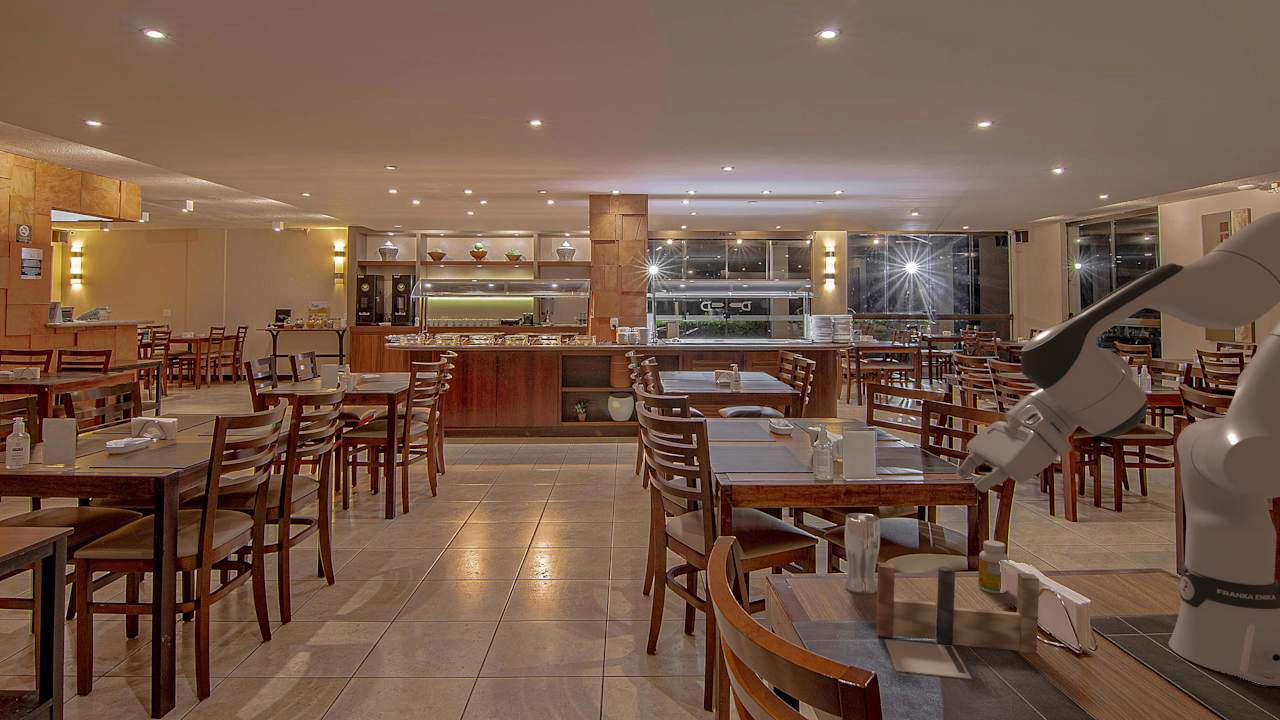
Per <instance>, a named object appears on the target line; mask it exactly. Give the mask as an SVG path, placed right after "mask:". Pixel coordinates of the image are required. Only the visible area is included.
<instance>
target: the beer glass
mask: <svg viewBox="0 0 1280 720" xmlns="http://www.w3.org/2000/svg"><path fill="white" fill-rule="evenodd" d="M880 524H881V523H880V518H879V517H878V516H877V515H874V514H870V513H861V512H854V513H847V514H846V515H845V525H844V548H845V555H846V563H847V577H846V581H845V589H846V588H847V589H848V591H849V592H851V593H854V594H859V595H873V594H875V593H877V582H876V566H877V563H878V562H877V561H878V557H879V551H880V545H881V527H880V526H881V525H880ZM847 589H846V590H847Z"/></svg>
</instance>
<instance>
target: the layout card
mask: <svg viewBox="0 0 1280 720" xmlns="http://www.w3.org/2000/svg"><path fill="white" fill-rule="evenodd" d="M884 642H885V645H886V648H887V650H889V651H888V653H890V654H889V656H890V655H891V656H890V658H892V659H891V661H893V662H892V664H893V663H894V664H893V666H895V667H894V669H897V671H898V669H899V671H904V672H903V673H905V672H910V673H909V674H915V673H916V674H917V675H923V676H924V675H925V676H926V675H928V676H936V677H945V678H955V679H965V680H973V677H972V676H971V673H969V670H968V669H967V667H966V665H965V663H964V662H963V660H962V658H961V657H960V655H959V653H958V651H957V650H956V648H955V647H954V645H950V646H949V645H941V644H939V643H937V644H936V643H927V642H926V643H925V642H917V641H916V642H915V641H904V640H895V639H885V638H884ZM899 667H900V668H899Z"/></svg>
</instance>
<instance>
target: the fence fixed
mask: <svg viewBox="0 0 1280 720" xmlns="http://www.w3.org/2000/svg"><path fill="white" fill-rule="evenodd" d="M937 572H938V573H937V602H936V639H935V641H936V643H937V644H939V645H949V646H954V645H955V646H964V647H977V648H988V649H997V650H1005V651H1007V650H1008V651H1017V652H1020V653H1021V654H1023V653H1024V654H1031V655H1036V654H1038V653H1037V652H1038V650H1037V649H1038V625H1039V598H1040V597H1039V596H1040V594H1039V593H1040V578H1039V577H1038V576H1037V575H1036V574H1035V573H1028V572H1027V573H1024V572H1017V595H1016V596H1017V597H1016V599H1017V600H1016V612H1014V611H1004V610H993V609H992V610H991V609H979V608H969V607H957V606H955V588H956V587H955V586H956V585H955V584H956V569H954V568H951V567H945V566H940V567H938V569H937Z"/></svg>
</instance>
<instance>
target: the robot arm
mask: <svg viewBox="0 0 1280 720" xmlns="http://www.w3.org/2000/svg"><path fill="white" fill-rule="evenodd" d="M1278 304H1280V211H1279V212H1278V211H1277V212H1271V213H1269V214H1265V215H1263V216H1261V217H1258V218H1257V219H1255V220H1253V221H1251V222H1250V223H1248V224H1247V225H1245V226H1243V227H1242V228H1240V229H1239V230H1236V231H1235V232H1234V233H1232V234H1231V235H1230V236H1228V237H1227V238H1226V239H1224V240H1223V241H1222V242H1220V243H1218V245H1216V246H1215V247H1214V248H1213V249H1211V250H1210V251H1209V252H1208V253H1206V254H1205V255H1204V256H1203V257H1202V258H1200V259H1198V260H1196V261H1195V262H1193V263H1190V264H1187V265H1180V264H1175V263H1167V264H1164V265H1160V266H1158V267H1155V268H1153V269H1150V270H1148V271H1145V272H1144V273H1142V274H1140V275H1138V276H1137V277H1135V278H1133V279H1131V280H1129V281H1128V282H1126V283H1124V284H1122V285H1121V286H1119V287H1118V288H1116V289H1115V290H1113V291H1111V292H1109V293H1107V294H1106V295H1104V296H1103V297H1101V298H1100V299H1098V300H1096V301H1095V302H1093V303H1092V304H1089V305H1088V306H1087V307H1085V308H1083V309H1081V310H1080V311H1078V312H1076V313H1075V314H1073V315H1072V316H1070V317H1068V318H1066V319H1065V320H1063V321H1061V322H1059V323H1057V324H1056V325H1054V326H1052V327H1049V328H1046V329H1045V330H1043V331H1040V332H1038V334H1036V335H1034V336H1033V337H1032V338H1030V340H1028V341H1027V343H1026V344H1024V346H1023V347H1022V348H1021V351H1020V367H1021V368H1020V369H1021V373H1022V375H1023V376H1024V377H1026V378H1027V379H1028V380H1029V381H1030V382H1032V383H1033V384H1034V385H1036V386H1037V387H1038V389H1036V390H1034V391H1032V392H1029V393H1028V394H1027V395H1026V396H1025V397H1023V398H1022V399H1021V400H1019V402H1017V403H1016V404H1015V405H1014V406H1012V407H1011V408H1010V409H1009V410H1008V411H1006V412H1005V414H1004V416H1005V419H1006V421H1002V420H998V421H995V422H993V423H992V424H990V425H988V426H986V428H984V429H983V430H982V431H980V432H979V433H977V434H976V435H975V436H974V437H973V438H971V439H970V440H969V441H968V443H967V444H966V446H965V447H966V449H967V450H968V451H969V452H970V453H969V454H968V455H967V457H966V458H965V459H964V461H963V463H962V464H961V465H960V466H958V468H957V469H956V470H955V473H956V474H957V475H958V476H959V478H961V479H963V480H966V479H968V478H969V477H970V476H971V475H973V473H972V472H973V471H974V470H975V469H976V468H977V467H980V466H981V465H982V464H985V465H987V466H988V467H991V468H992V469H991V471H989V473H987V474H985V475H983V476H979V478H977V480H975V481H974V482H973V485H974V487H976V489H977V490H978V491H980V492H981V493H986V492H987V491H989V490H990V489H991V488H992V487H995V486H998V485H999V484H1002V483H1004V482H1006V481H1007V480H1008V479H1009V478H1010V479H1011V480H1014V481H1015V482H1017V483H1018V484H1021V483H1023V482H1027V481H1029V480H1031V479H1033V478H1034V477H1036V476H1037V475H1038V474H1040V473H1041V472H1042V471H1043V470H1045V469H1046V468H1048V467H1049V466H1050V465H1051V464H1052V463H1054V462H1055V460H1056V459H1057V458H1058V456H1059V457H1065V456H1066V455H1068V454H1069V453H1070V452H1071V451H1072V450H1073V446H1072V444H1071V443H1070V441H1069V439H1068V438H1070V436H1072V435H1073V433H1074V432H1075V431H1076V430H1077V428H1078V427H1081V428H1082V429H1083V430H1085V431H1086V432H1088V433H1090V434H1091V435H1093V436H1097V437H1103V438H1118V437H1121V436H1123V435H1125V434H1127V433H1128V432H1129V431H1131V430H1132V429H1133V428H1135V427H1136V426H1137V425H1138V424H1140V423H1141V422H1142V420H1143V419H1145V416H1146V413H1147V411H1148V406H1149V399H1148V398H1149V396H1148V395H1146V393H1145V392H1144V390H1143V389H1142V387H1141V386H1139V384H1138V383H1136V381H1134V380H1133V379H1134V372H1133V369H1132V368H1131V366H1130V364H1129V363H1128V362H1127V361H1126V360H1125V359H1124V358H1123V357H1122V356H1120V355H1119V354H1117V353H1115V352H1114V351H1112V350H1109V349H1106V348H1103V347H1099V346H1098V343H1097V339H1098V337H1099V335H1102V334H1103V333H1105V332H1106V331H1108V330H1110V329H1111V328H1113V327H1115V326H1117V325H1118V324H1119V323H1121V322H1124V321H1125V320H1127V319H1128V318H1130V317H1131V316H1133V315H1134V314H1136V313H1138V312H1140V311H1141V310H1143V309H1150V310H1155V311H1157V312H1161V313H1163V314H1166V315H1169V316H1171V317H1173V318H1175V319H1177V320H1180V321H1182V322H1184V323H1188V324H1190V325H1192V326H1193V325H1194V326H1196V327H1202V328H1206V329H1211V330H1233V329H1239V328H1242V327H1245V326H1248V325H1250V324H1253V322H1255V321H1257V320H1259V319H1261V318H1262V317H1263V316H1265V315H1266V314H1268V312H1270V311H1271V310H1272V309H1274V308H1275V307H1276V306H1277V305H1278ZM1236 383H1237V386H1236V390H1235V392H1234V395H1233V397H1232V400H1231V402H1230V405H1229V407H1228V409H1227V412H1226V413H1225V416H1224V417H1210V418H1206V419H1201V420H1198V421H1195V422H1194V421H1193V423H1191V424H1189V425H1187V426H1185V427H1184V429H1182V430H1181V432H1180V433H1179V435H1178V437H1177V440H1176V449H1177V454H1178V458H1179V466H1180V479H1181V488H1182V495H1183V501H1184V502H1183V503H1184V509H1185V518H1186V519H1185V522H1186V523H1185V528H1186V529H1185V548H1184V549H1185V551H1184V563H1182V564H1181V570H1180V580H1179V581H1180V583H1179V593H1180V595H1179V596H1180V598H1181V601H1180V606H1179V612H1178V616H1177V619H1176V623H1175V627H1174V630H1173V632H1172V635H1171V637H1170V638H1169V641H1168V646H1169V647H1170V649H1171V650H1173V652H1174V653H1176V654H1177V655H1179V656H1181V657H1182V658H1184V659H1186V660H1188V661H1190V662H1191V663H1194V664H1197V665H1199V666H1201V667H1204V668H1208V669H1210V670H1214V671H1216V672H1219V671H1220V673H1223V674H1226V673H1227V675H1229V676H1233V675H1234V677H1236V676H1238V677H1237V678H1239V677H1240V678H1239V679H1241V678H1243V679H1242V680H1244V679H1245V680H1244V681H1246V680H1248V681H1247V682H1249V681H1251V682H1254V683H1257V684H1261V685H1276V686H1280V582H1279V581H1278V580H1277V579H1275V574H1276V573H1275V572H1276V571H1275V570H1276V569H1275V568H1276V556H1277V554H1276V551H1277V531H1276V527H1275V525H1274V523H1273V520H1272V516H1271V513H1270V509H1269V504H1268V499H1276V498H1280V320H1279V321H1278V322H1277V323H1276V324H1275V326H1274V327H1273V329H1272V330H1271V331H1270V332H1269V334H1268V335H1267V336H1266V338H1265V339H1264V340H1263V343H1262V344H1261V345H1260V346H1259V348H1257V350H1256V351H1255V353H1254V355H1253V356H1252V358H1251V359H1250V360H1249V362H1248V363H1247V364H1246V366H1245V367H1244V369H1243V370H1242V371H1241V373H1240V375H1238V378H1237V381H1236ZM1251 682H1250V683H1251ZM1254 683H1253V684H1254ZM1257 684H1256V685H1257Z"/></svg>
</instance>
